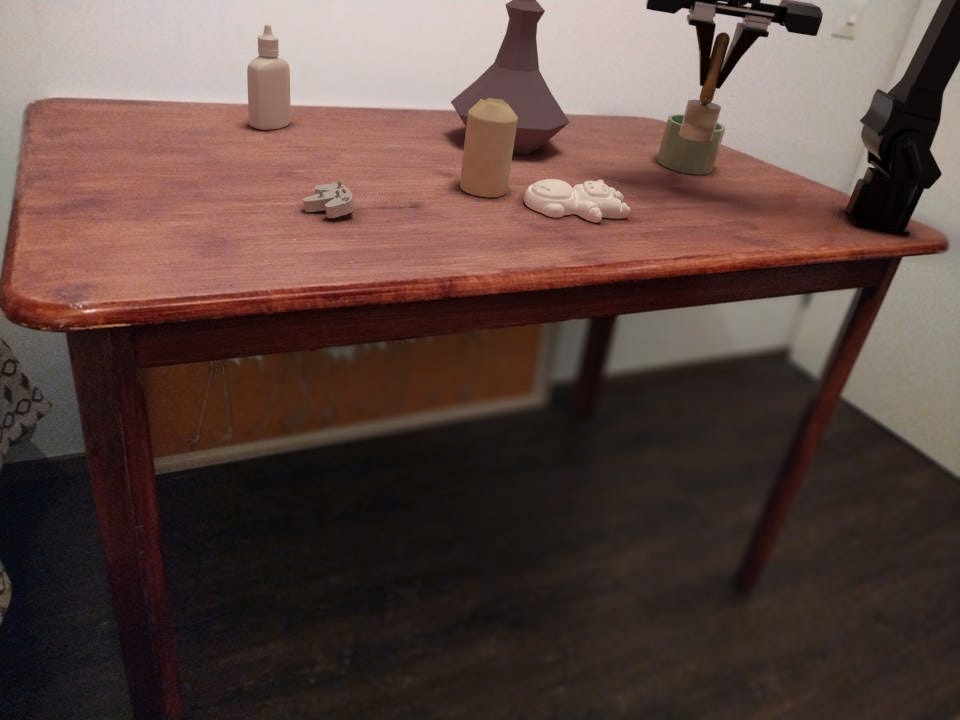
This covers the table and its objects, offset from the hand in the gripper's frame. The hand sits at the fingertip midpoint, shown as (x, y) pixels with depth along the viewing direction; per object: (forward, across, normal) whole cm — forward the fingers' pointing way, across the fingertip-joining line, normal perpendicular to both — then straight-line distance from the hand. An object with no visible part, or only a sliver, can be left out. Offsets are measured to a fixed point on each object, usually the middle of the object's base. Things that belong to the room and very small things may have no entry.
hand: (709, 86), depth 87 cm
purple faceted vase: (+13, +24, -7) cm, 28 cm away
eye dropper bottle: (+13, +53, +5) cm, 55 cm away
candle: (+13, +23, +13) cm, 30 cm away
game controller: (+13, +34, +26) cm, 45 cm away
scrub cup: (+13, -1, -12) cm, 18 cm away
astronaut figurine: (+13, +12, +14) cm, 22 cm away
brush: (+6, 0, 0) cm, 6 cm away
